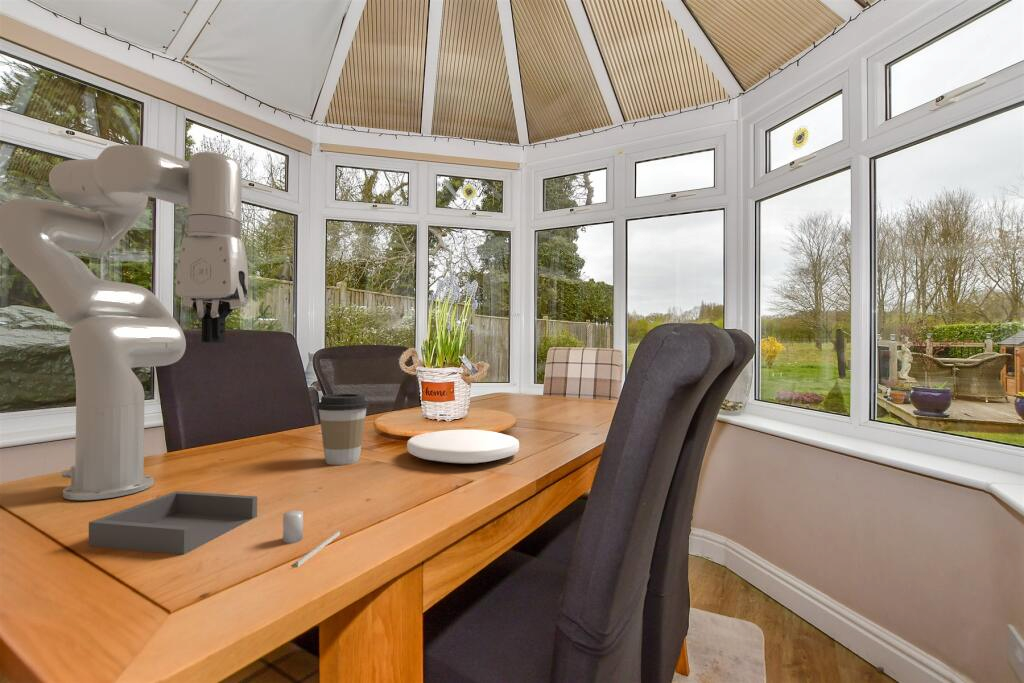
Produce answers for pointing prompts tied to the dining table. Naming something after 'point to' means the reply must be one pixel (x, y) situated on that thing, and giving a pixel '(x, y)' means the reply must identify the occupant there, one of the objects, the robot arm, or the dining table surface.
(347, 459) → the coffee cup
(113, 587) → the dining table surface
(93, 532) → the dark box
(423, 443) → the white round disc
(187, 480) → the dining table surface
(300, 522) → the cover plate
